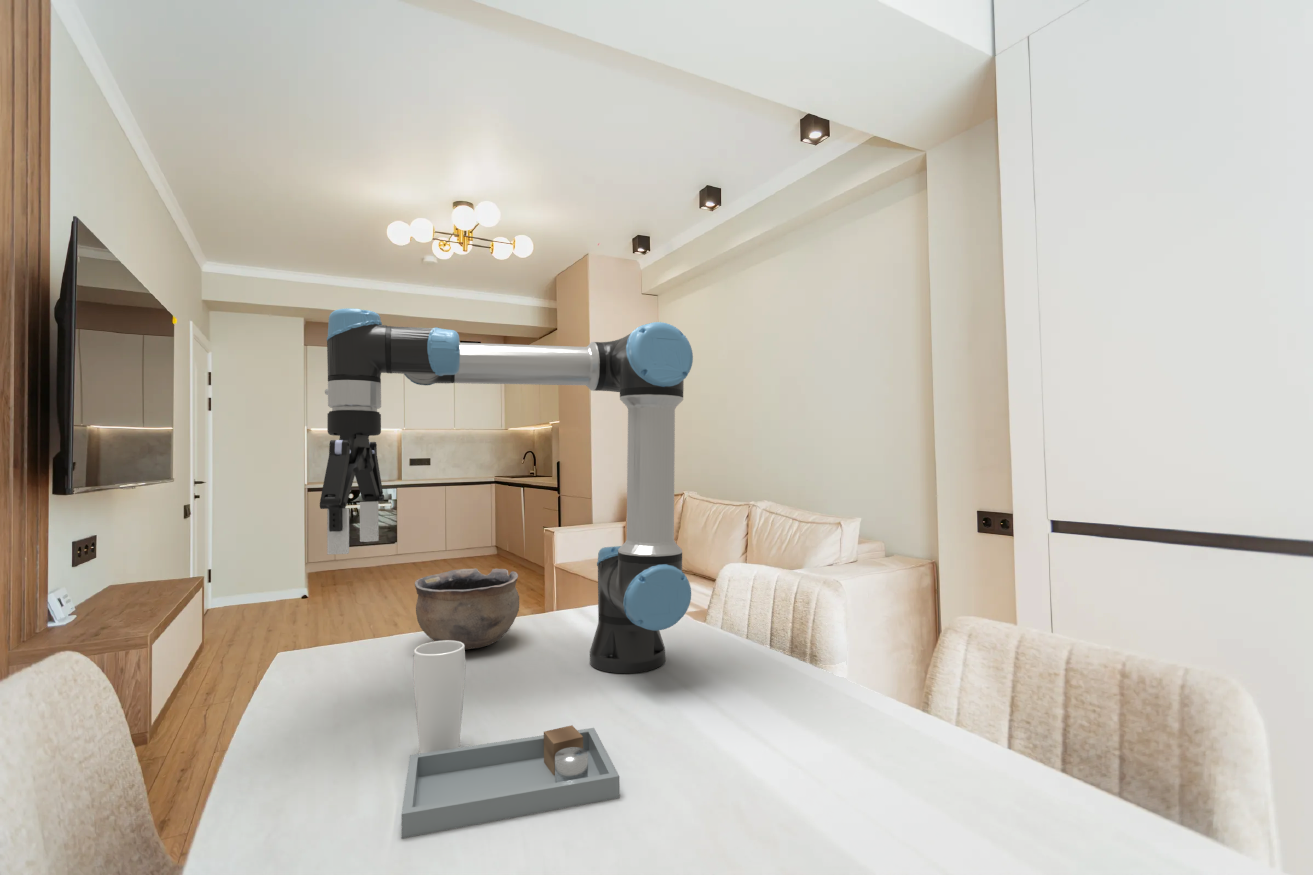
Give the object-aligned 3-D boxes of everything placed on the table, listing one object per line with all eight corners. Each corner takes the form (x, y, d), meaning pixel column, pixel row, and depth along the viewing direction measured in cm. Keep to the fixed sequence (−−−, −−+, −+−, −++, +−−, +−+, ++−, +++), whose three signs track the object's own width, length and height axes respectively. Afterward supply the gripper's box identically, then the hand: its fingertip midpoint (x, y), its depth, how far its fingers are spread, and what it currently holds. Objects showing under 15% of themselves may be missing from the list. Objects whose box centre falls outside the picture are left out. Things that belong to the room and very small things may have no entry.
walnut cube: (572, 754, 85) (572, 725, 85) (583, 767, 81) (583, 736, 81) (543, 762, 83) (543, 731, 83) (553, 775, 79) (553, 743, 80)
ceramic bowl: (538, 635, 144) (538, 570, 144) (482, 666, 123) (482, 589, 123) (457, 628, 151) (457, 565, 151) (391, 656, 130) (391, 583, 131)
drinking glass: (449, 771, 82) (449, 656, 82) (402, 767, 83) (402, 653, 84) (474, 747, 89) (474, 641, 89) (431, 744, 90) (430, 638, 90)
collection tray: (594, 749, 87) (594, 727, 88) (619, 802, 74) (619, 775, 74) (410, 779, 80) (410, 754, 80) (401, 843, 67) (401, 813, 67)
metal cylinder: (584, 777, 79) (584, 744, 79) (591, 793, 75) (590, 759, 75) (552, 782, 78) (552, 749, 78) (557, 799, 74) (557, 764, 74)
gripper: (357, 415, 109) (357, 537, 109) (293, 403, 85) (292, 561, 84) (401, 415, 110) (402, 535, 110) (351, 403, 86) (351, 559, 85)
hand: (354, 547), depth 97 cm, fingers open, 13 cm apart
